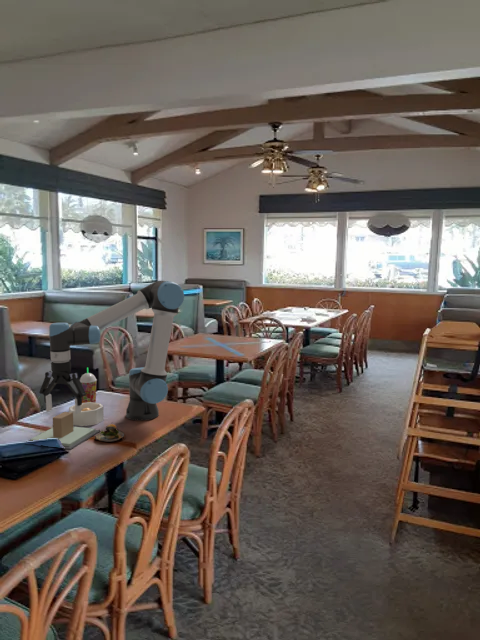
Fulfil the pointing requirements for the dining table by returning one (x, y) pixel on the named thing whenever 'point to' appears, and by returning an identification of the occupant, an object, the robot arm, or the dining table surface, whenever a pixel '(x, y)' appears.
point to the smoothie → (89, 387)
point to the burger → (110, 434)
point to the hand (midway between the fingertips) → (63, 411)
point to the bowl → (88, 414)
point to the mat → (81, 440)
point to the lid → (65, 430)
